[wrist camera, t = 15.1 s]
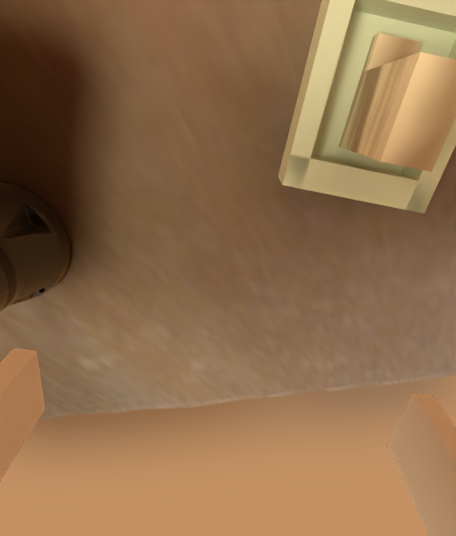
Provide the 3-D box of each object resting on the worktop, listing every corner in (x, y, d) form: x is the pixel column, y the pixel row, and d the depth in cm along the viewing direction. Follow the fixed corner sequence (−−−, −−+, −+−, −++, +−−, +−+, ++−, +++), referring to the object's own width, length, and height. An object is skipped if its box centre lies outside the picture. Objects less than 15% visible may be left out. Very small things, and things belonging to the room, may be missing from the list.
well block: (277, 176, 38) (282, 184, 34) (330, -35, 30) (345, -61, 25) (403, 201, 39) (424, 213, 34) (487, 2, 31) (529, -18, 26)
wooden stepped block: (338, 146, 35) (380, 161, 25) (373, 36, 31) (441, -5, 20) (374, 154, 36) (431, 171, 25) (413, 45, 31) (503, 9, 21)
